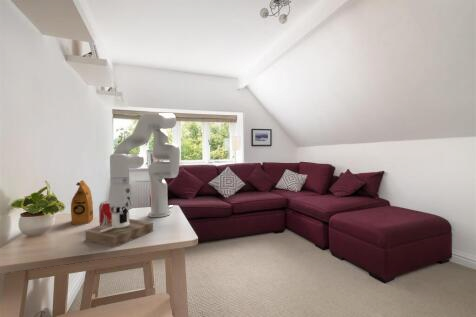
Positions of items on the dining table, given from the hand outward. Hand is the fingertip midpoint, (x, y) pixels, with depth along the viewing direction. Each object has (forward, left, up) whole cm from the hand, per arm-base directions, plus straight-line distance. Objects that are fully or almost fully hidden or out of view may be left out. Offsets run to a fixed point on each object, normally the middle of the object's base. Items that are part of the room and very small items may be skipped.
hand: (120, 221), depth 102 cm
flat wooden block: (0, 0, -6) cm, 6 cm away
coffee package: (-6, -38, -6) cm, 39 cm away
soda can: (-7, -19, -6) cm, 21 cm away
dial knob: (+3, 0, -2) cm, 4 cm away
